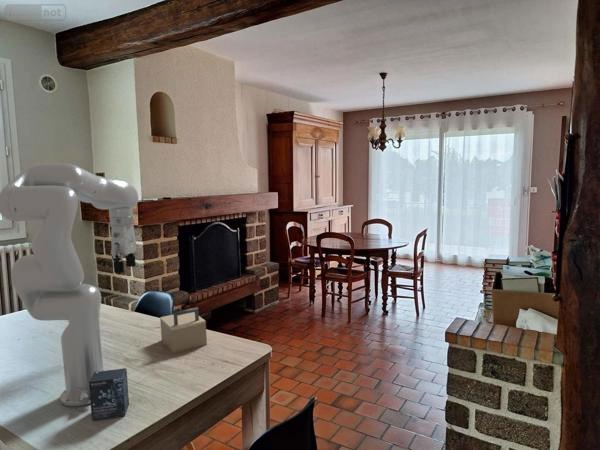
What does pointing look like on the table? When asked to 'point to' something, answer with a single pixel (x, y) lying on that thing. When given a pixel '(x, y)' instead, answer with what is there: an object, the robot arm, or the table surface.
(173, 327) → the door
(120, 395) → the box
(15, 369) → the table surface
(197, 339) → the tan open container
